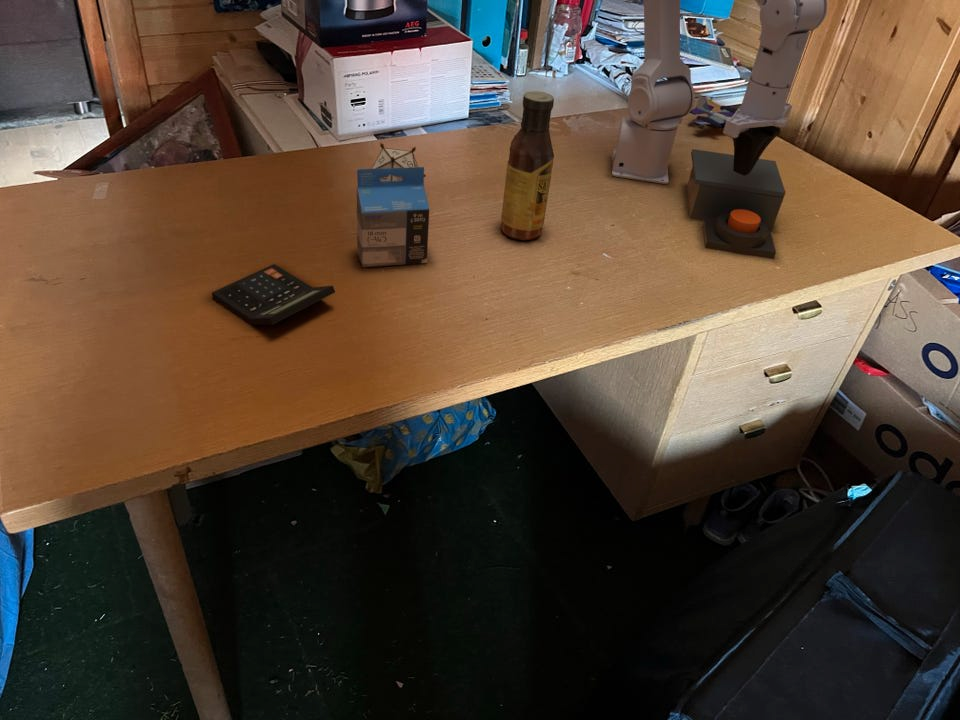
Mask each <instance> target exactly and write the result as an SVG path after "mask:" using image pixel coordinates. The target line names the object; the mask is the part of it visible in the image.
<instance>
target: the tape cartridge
mask: <svg viewBox="0 0 960 720" xmlns="http://www.w3.org/2000/svg"><path fill="white" fill-rule="evenodd" d="M390 174H392V175H394V177H402V180H401V181H380V178H382V177H388V176H389V175H390ZM424 174H425V166H418V167H410V168H376V169H371V168H357V170H356V176H357V178H356V179H357V187H356V246H357V247H356V248H357V249H356V250H357V251H356V252H357V257H358V258H359V261H360V264H361V267H362V268H374V267H386V266H401V265H414V264H415V265H417V264H426V263H427V262H428V249H429V247H428V245H429V226H430V205H429V201H428V197H427V193H426V187H425V177H424Z"/></svg>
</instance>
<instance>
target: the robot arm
mask: <svg viewBox="0 0 960 720" xmlns="http://www.w3.org/2000/svg"><path fill="white" fill-rule="evenodd" d="M754 1H755V3H756V4H757V5H758V7H759V22H760V26H761V32H760V35H759V39H758V41H759V47H758V50H757V53H756V56H755V60H754V63H753V66H752V68H751V69H752V70H751V73H750V76H749V79H748V81H747V86H746V89H745V91H744V96H743V98H742V102H741V104H740V106H739V107H738V108H737V109H738V110H737V111H736V112H735V114H734V115H733V116H732V117H731V118H730V119H728V120H726V124H725V127H724V129H723V131H722V134H723V135H726V136H728V137H730V138H732V141H733V155H734V165H733V171H734V172H737V173H739V174H741V175H743V176H745V175H748V174H749V173H750V172H751V171H752V169H753V167H754V166H755V164H756V162H757V161H758V159H761V156H762V155H763V153H764V151H765V150H766V149H767V148H768V146H769V145H770V144H771V143H772V141H774V140H775V139H776V138H777V137H778V136H779V134H780V132H781V129H780V128H783V127H785V126H787V125H788V122H789V120H788V119H789V117H790V114H791V111H792V108H793V104H792V103H789V102H787V101H788V98H789V96H790V92H791V90H792V86H793V84H794V81H795V78H796V75H797V72H798V69H799V66H800V63H801V60H802V57H803V55H804V52H805V49H806V46H807V43H808V40H809V37H810V34H811V32H812V31H815V30H816V29H818V28H819V26H821V25H822V23H823V21H824V20H825V18H826V16H827V13H828V0H754ZM643 27H644V28H643V34H644V35H643V37H644V38H643V39H644V40H643V41H644V43H643V45H644V49H643V50H644V61H643V63H641V65H640V66H639V67H638V68H637V69H636V70H635V71H634V73H633V74H632V75H631V76H630V79H631V81H630V82H631V83H630V90H629V92H628V93H629V94H628V96H627V110H628V113H629V115H630V117H629V116H623V117H621V119H620V125H619V129H618V133H617V139H616V143H615V148H614V149H613V151H612V157H611V160H612V167H611V170H612V171H611V176H612V177H614V178H616V177H617V178H621V179H622V178H623V179H630V180H635V181H641V182H647V183H648V182H649V183H655V184H663V185H668V184H669V162H670V158H671V153H672V150H673V147H674V146H673V145H674V142H675V138H676V135H677V130H678V127H679V125H681V124H682V122H683V119H684V117H686V116H688V115H689V114H691V113H690V111H691V110H693V109H694V105H695V101H696V94H695V88H694V86H693V83H692V77H691V76H692V74H691V73H692V72H691V68H689V66H688V65H687V64H686V63H685V62H684V61H683V60H682V59H681V0H643ZM661 79H665V80H661Z"/></svg>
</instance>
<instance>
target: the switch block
mask: <svg viewBox="0 0 960 720" xmlns="http://www.w3.org/2000/svg"><path fill="white" fill-rule="evenodd" d="M729 216H730V213H724V214H722V215H721V216H720V217H718V218H717V221H712V220H706V219H704V221H702V225H701V228H702V235H703V244H704V249H709V250H715V251H721V252H726V253H733V254H740V255H747V256H752V257H758V258H765V259H771V260H774V259H775V257H776V253H777V251H776V246H775V243H774V240H773V239H774V238H773V236H772V231H770V229H768V228H767V225H766V224H764V223H763V222H762V221H760V224H759V227H758V230H757V232H756V233H749V234H748V233H742V232H738V231H736V230H733V229H731V228H730V227H729V226H728V225H727V222H728V219H729Z"/></svg>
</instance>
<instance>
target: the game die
mask: <svg viewBox="0 0 960 720" xmlns="http://www.w3.org/2000/svg"><path fill="white" fill-rule="evenodd" d="M379 143H380V144H379V146H380V148H381V150H380V152H379V154H378V155H377V157H376V159H375V161H374V163H373V164H372V166H371V168H370V169H376V168H410V167H419V164H418V162H417V159H416V157H415V153H414V152H415V151H416V150H417V147H416V146H414V147H412V148H411V150H405V149H398V148H389V147H385V145H384V143H382V142H379ZM425 177H427V175H426V173H424V178H425ZM401 180H402V177H394V175H392V174H390V175H389V176H388V177H382V178H380V181H401Z"/></svg>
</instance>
